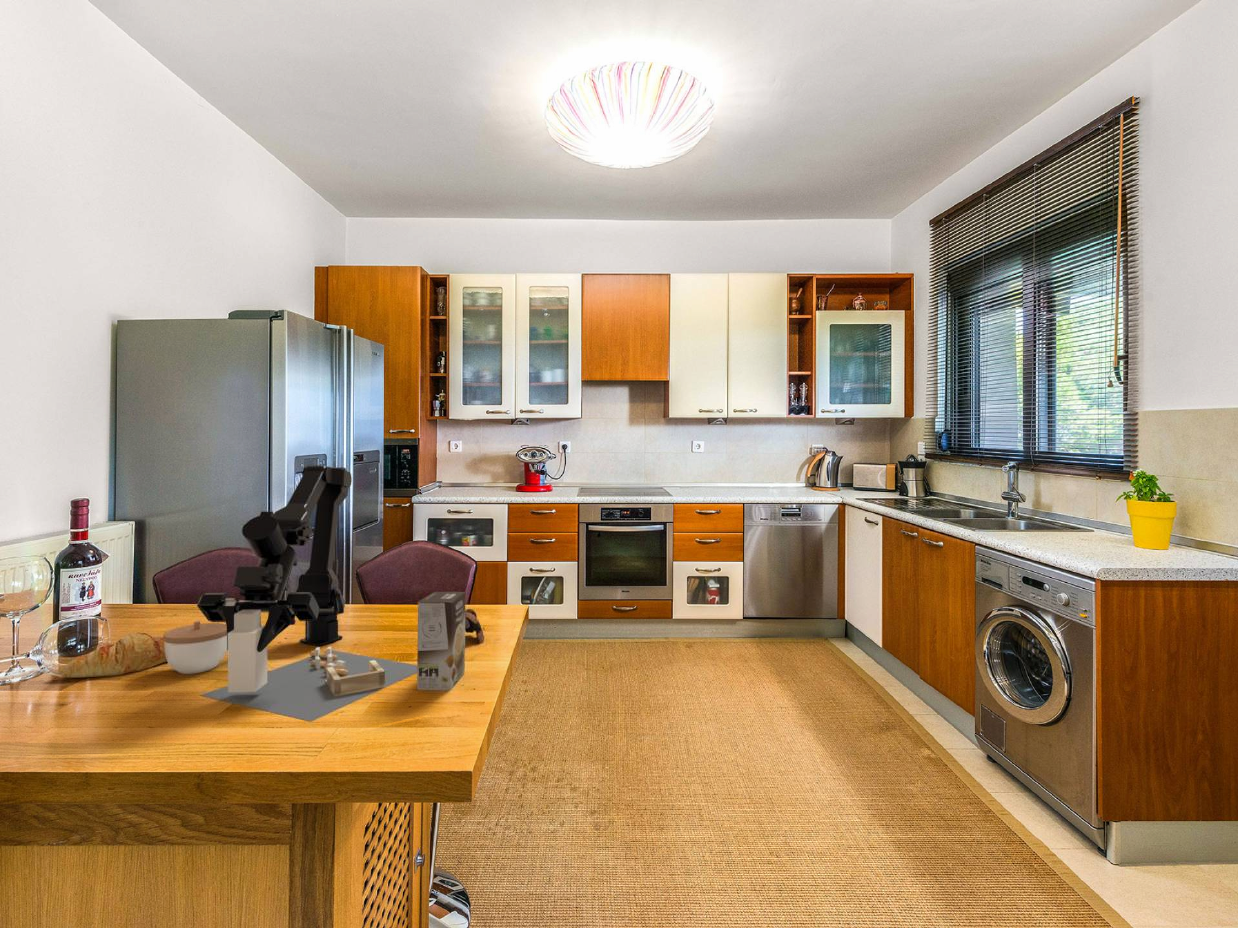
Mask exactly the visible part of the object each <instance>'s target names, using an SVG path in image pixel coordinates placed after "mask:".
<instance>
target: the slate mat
mask: <svg viewBox="0 0 1238 928" xmlns="http://www.w3.org/2000/svg"><path fill="white" fill-rule="evenodd" d="M322 653H327V650H326V651H324V652H322ZM332 655H337V659H336V660H333V663H334V664H336V661H338V660H340V661H344V662H345V670H348V674H347V675H346V676H351V675H356V674H362V673H368V672H369V661H372V660H375V661H376V662H377V663H378V664H379V665H380V666H381V667H382V669H383V670H384V671H385V687H382V688H376V689H371V690H366V691H361V692H355V693H350V694H345V695H339V696H334V694H333V693H332V691H331V690H330V688H329V686H328V685H327V683H326V680H327V675H326V672H325V671H324V668H325V667H320V669H318V670H317V669H316V668H315V666H314V665H311V661H312V660H315V657H314V656H309V657H306V658H302V659H299V660H297V661H295V662H292V663H289V664H285V665H282V666H280V667H277V668H274V669H271V670H267V683H266V684H265V685H263V686H262V687H261V688H260V689H259V690H257V691H256V692H228V685H225V686H223V687H219V688H217V689H214V690H211V691H208V692H205V693H203V694H199V696H200V697H203V698H208V699H213V700H217V701H221V702H225V703H230V704H233V705H236V706H237V705H238V706H241V707H246V708H252V709H255V710H258V711H263V712H269V713H273V714H276V715H281V716H284V717H285V716H286V717H289V718H293V719H298V720H302V721H306V722H309V723H310V722H314V721H316V720H318V719H320V718H322V717H325V716H327V715H329V714H330V713H332V712H333V713H334V711H337V710H340V709H341V708H344V707H346V706H348V705H351V704H353V703H354V702H357V701H359V700H361V699H364V698H365V697H368V696H370V695H373V694H375V693H376V692H379V691H381V690H383V689H385V688H387V687H390V686H392V685H394V684H396V683H398V682H400V681H403V680H405V679H407V678H409V677H411V676H414V675H417V664H413V663H409V662H408V663H407V662H401V661H397V660H390V659H386V658H385V659H384V658H378V657H373V656H368V655H363V654H357V653H356V654H355V653H351V652H345V651H340V650H339V651H338V650H333V649H332ZM320 661H323V662H327V659H325V658H320ZM338 676H339V677H345V675H340V674H338Z"/></svg>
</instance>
